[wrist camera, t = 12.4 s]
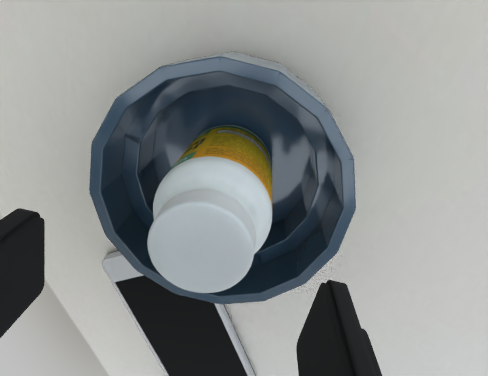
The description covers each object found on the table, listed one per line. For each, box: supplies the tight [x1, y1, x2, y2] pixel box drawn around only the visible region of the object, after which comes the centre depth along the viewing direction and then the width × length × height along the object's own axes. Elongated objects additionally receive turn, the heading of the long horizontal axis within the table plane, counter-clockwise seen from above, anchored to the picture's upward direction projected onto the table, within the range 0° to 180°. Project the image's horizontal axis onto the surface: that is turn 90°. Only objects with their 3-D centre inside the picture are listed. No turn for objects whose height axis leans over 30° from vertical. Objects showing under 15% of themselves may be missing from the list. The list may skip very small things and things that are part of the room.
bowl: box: [89, 52, 356, 304], centre depth 19 cm, size 13×13×6 cm
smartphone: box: [102, 251, 255, 376], centre depth 27 cm, size 7×15×1 cm, turn 19°
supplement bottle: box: [147, 125, 272, 293], centre depth 17 cm, size 5×5×10 cm
